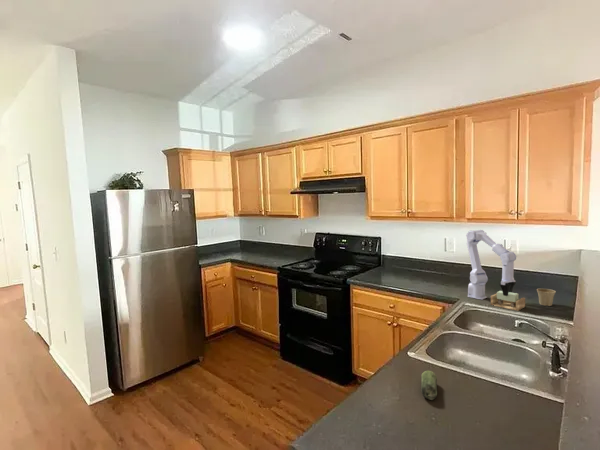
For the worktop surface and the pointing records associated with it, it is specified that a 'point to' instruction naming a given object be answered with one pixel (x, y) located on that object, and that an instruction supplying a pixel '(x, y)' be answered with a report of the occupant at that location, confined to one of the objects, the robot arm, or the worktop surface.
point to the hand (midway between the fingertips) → (507, 294)
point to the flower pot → (546, 296)
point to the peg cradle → (508, 303)
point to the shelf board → (510, 297)
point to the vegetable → (429, 385)
